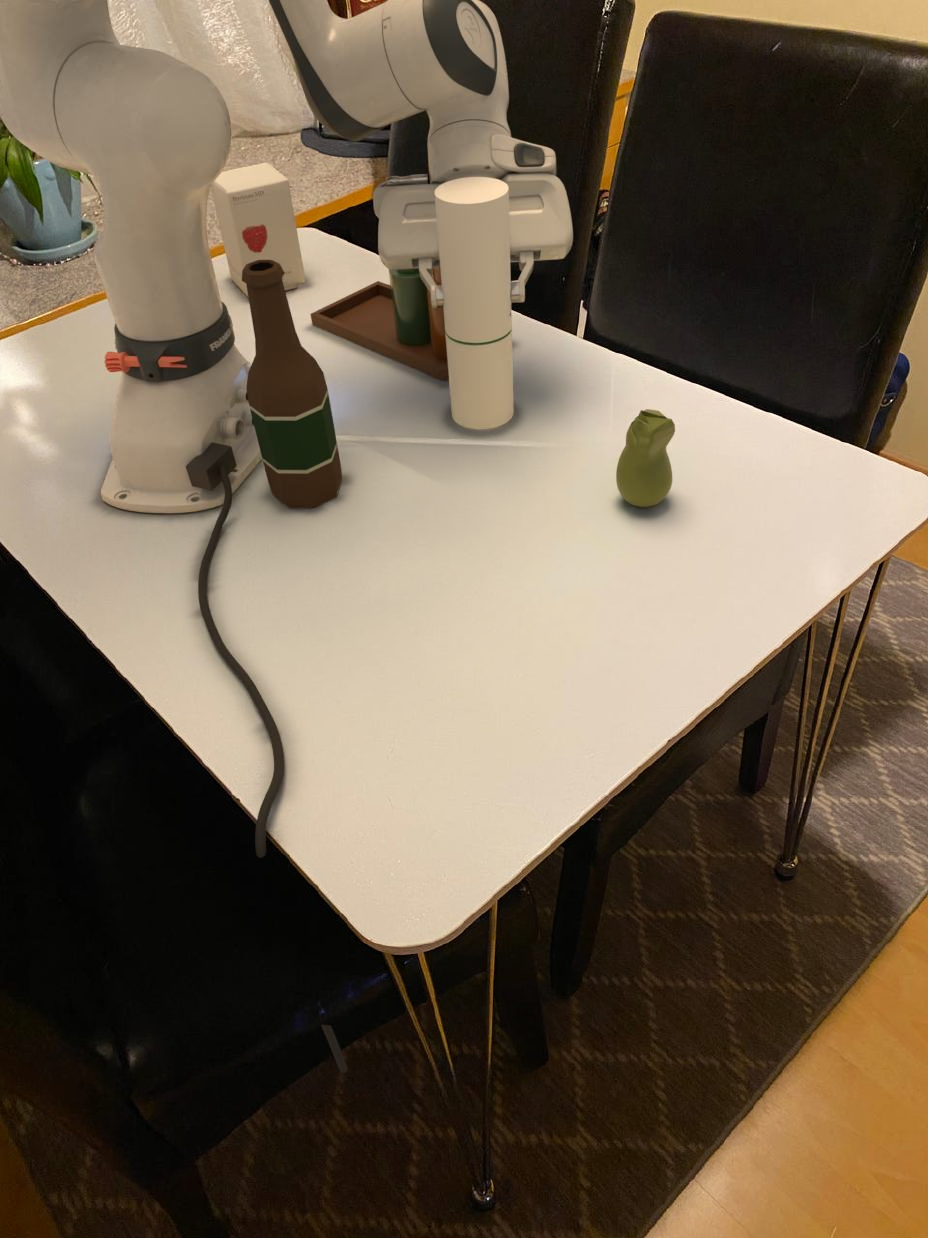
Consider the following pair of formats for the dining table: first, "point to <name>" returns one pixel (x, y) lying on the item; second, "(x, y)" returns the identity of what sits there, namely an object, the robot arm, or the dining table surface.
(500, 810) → the dining table surface
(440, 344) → the amber bottle
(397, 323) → the green bottle
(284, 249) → the white product box
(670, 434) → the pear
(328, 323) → the tray
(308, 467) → the beer bottle
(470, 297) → the cylindrical container
